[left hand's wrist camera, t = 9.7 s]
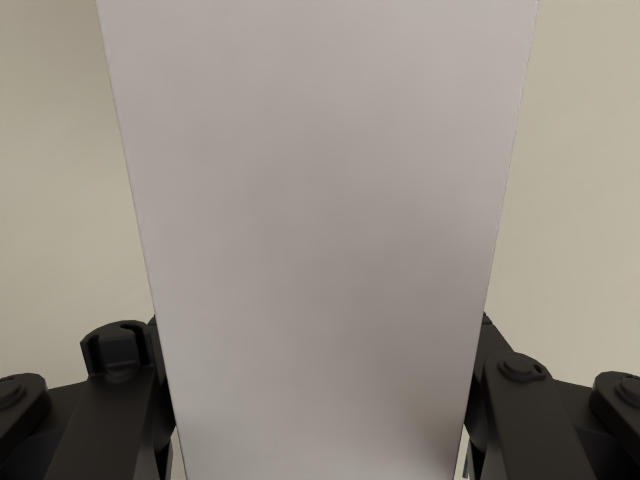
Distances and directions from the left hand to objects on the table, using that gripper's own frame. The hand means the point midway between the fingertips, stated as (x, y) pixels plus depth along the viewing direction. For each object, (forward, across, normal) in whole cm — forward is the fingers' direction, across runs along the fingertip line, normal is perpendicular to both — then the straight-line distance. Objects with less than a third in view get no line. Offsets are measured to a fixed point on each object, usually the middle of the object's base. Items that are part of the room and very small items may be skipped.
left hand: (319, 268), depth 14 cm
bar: (0, 0, -19) cm, 19 cm away
